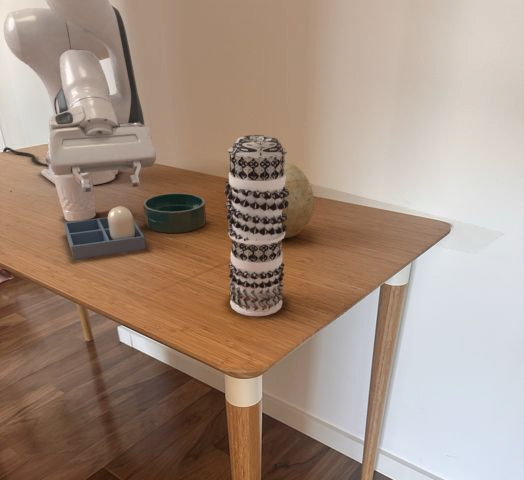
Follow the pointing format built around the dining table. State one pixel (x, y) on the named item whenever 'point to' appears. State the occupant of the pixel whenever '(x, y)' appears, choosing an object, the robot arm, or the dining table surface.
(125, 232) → the cream capsule
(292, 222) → the fossilized egg
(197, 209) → the bowl
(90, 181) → the white cup
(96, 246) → the divided tray
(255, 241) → the decorative candle
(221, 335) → the dining table surface
